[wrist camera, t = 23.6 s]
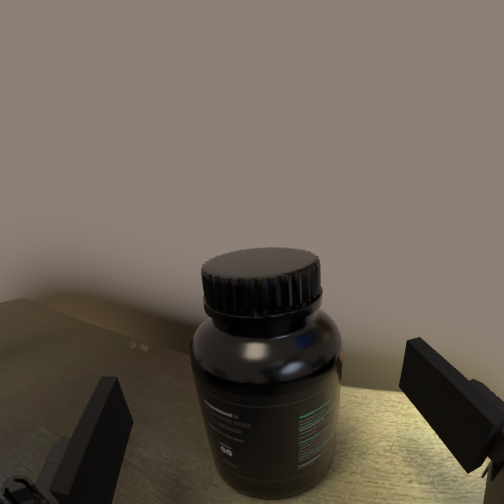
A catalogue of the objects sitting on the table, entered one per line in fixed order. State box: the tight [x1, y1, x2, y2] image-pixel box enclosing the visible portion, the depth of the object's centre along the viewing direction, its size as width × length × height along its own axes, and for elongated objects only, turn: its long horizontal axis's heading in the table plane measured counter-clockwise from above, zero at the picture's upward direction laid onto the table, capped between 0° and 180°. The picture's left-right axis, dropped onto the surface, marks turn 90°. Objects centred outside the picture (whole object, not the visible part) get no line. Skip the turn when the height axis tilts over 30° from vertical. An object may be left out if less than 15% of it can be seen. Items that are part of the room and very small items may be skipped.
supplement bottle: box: [190, 247, 343, 498], centre depth 14 cm, size 7×7×12 cm
